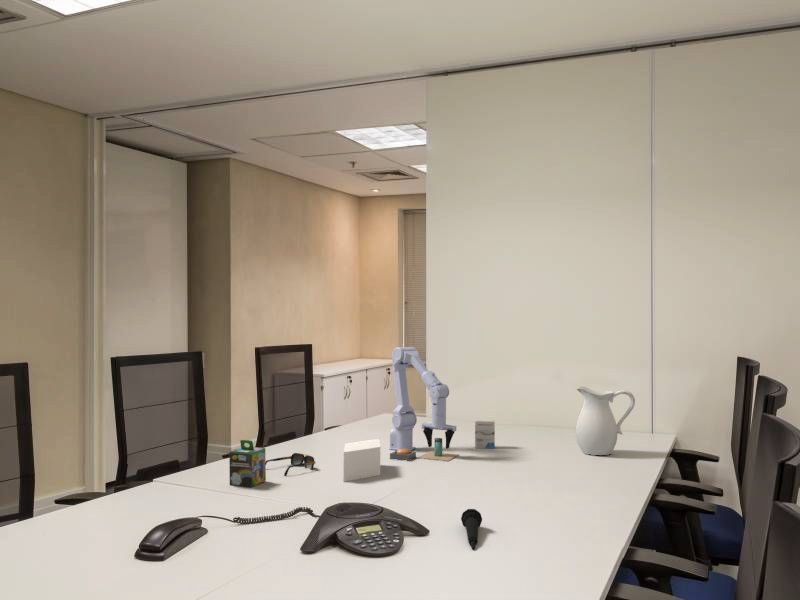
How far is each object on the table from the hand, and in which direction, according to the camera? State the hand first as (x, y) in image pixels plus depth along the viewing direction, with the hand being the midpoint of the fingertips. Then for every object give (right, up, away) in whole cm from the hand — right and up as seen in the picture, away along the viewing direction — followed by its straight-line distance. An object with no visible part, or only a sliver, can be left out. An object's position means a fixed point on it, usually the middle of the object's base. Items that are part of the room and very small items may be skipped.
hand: (438, 447), depth 276 cm
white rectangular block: (-30, -3, -29) cm, 42 cm away
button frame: (-15, -4, -3) cm, 15 cm away
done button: (-15, -2, -3) cm, 15 cm away
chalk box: (-68, -2, -46) cm, 82 cm away
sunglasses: (-57, -3, -26) cm, 63 cm away
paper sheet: (0, -4, 0) cm, 4 cm away
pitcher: (+71, -5, +9) cm, 71 cm away
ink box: (+22, -5, +21) cm, 30 cm away
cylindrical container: (0, -3, 0) cm, 3 cm away
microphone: (+2, -2, -100) cm, 100 cm away
